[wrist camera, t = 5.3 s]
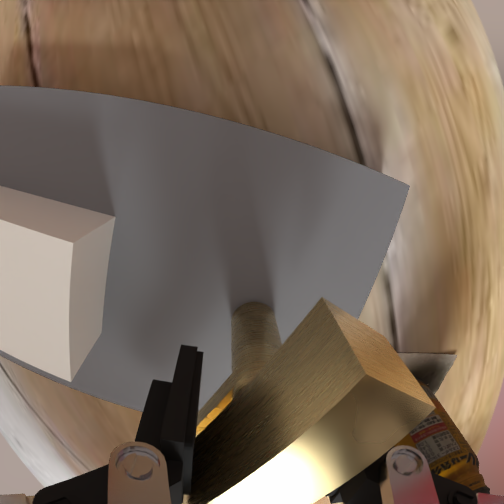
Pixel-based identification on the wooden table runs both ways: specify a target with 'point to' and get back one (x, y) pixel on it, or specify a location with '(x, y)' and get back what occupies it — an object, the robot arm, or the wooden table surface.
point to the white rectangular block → (51, 280)
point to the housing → (195, 226)
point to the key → (301, 409)
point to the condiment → (441, 426)
